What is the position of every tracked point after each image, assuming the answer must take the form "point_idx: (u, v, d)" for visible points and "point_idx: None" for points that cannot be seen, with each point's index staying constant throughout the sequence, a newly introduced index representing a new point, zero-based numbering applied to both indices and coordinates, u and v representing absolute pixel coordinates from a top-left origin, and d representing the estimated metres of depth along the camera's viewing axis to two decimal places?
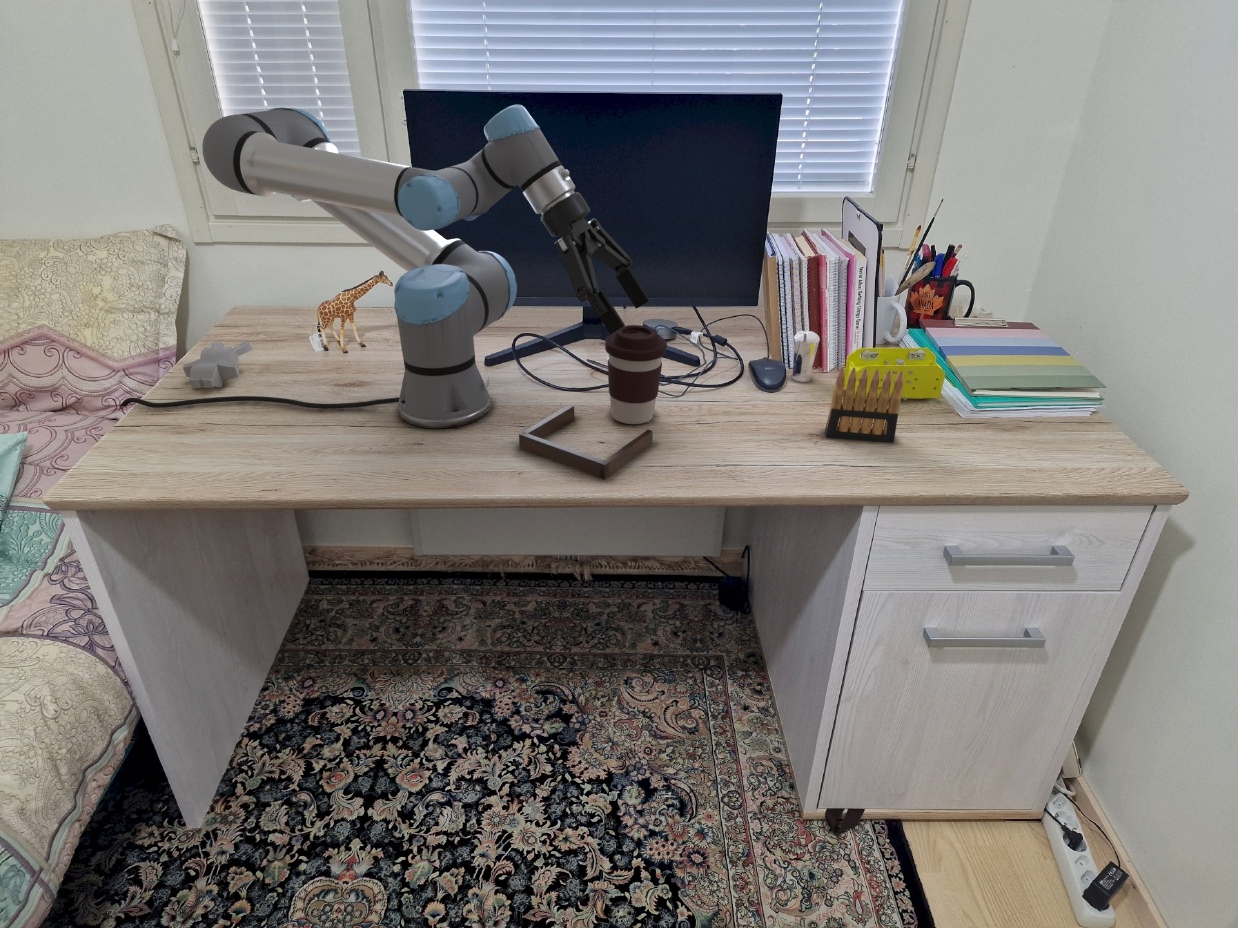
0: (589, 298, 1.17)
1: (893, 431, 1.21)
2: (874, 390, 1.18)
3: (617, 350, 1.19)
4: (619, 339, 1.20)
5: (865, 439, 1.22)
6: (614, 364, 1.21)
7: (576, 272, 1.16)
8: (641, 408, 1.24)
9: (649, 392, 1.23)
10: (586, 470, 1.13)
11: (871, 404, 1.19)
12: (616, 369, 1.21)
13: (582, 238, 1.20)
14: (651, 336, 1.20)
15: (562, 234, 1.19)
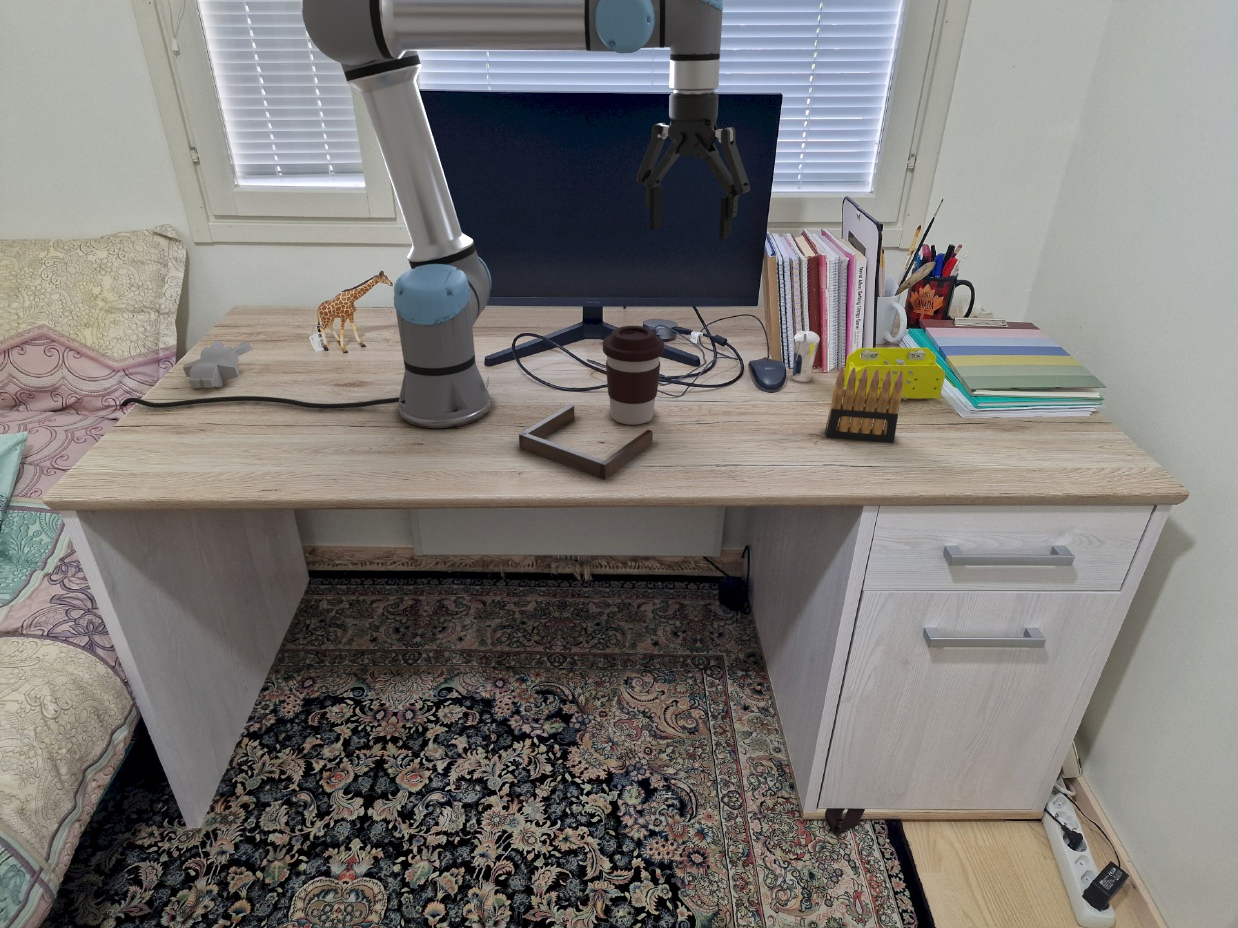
0: (735, 197, 1.20)
1: (893, 431, 1.21)
2: (874, 390, 1.18)
3: (614, 351, 1.19)
4: (616, 340, 1.20)
5: (865, 439, 1.22)
6: (612, 365, 1.22)
7: (741, 167, 1.18)
8: (640, 408, 1.24)
9: (648, 392, 1.23)
10: (586, 470, 1.13)
11: (871, 404, 1.19)
12: (614, 370, 1.21)
13: None
14: (648, 336, 1.20)
15: (712, 124, 1.17)
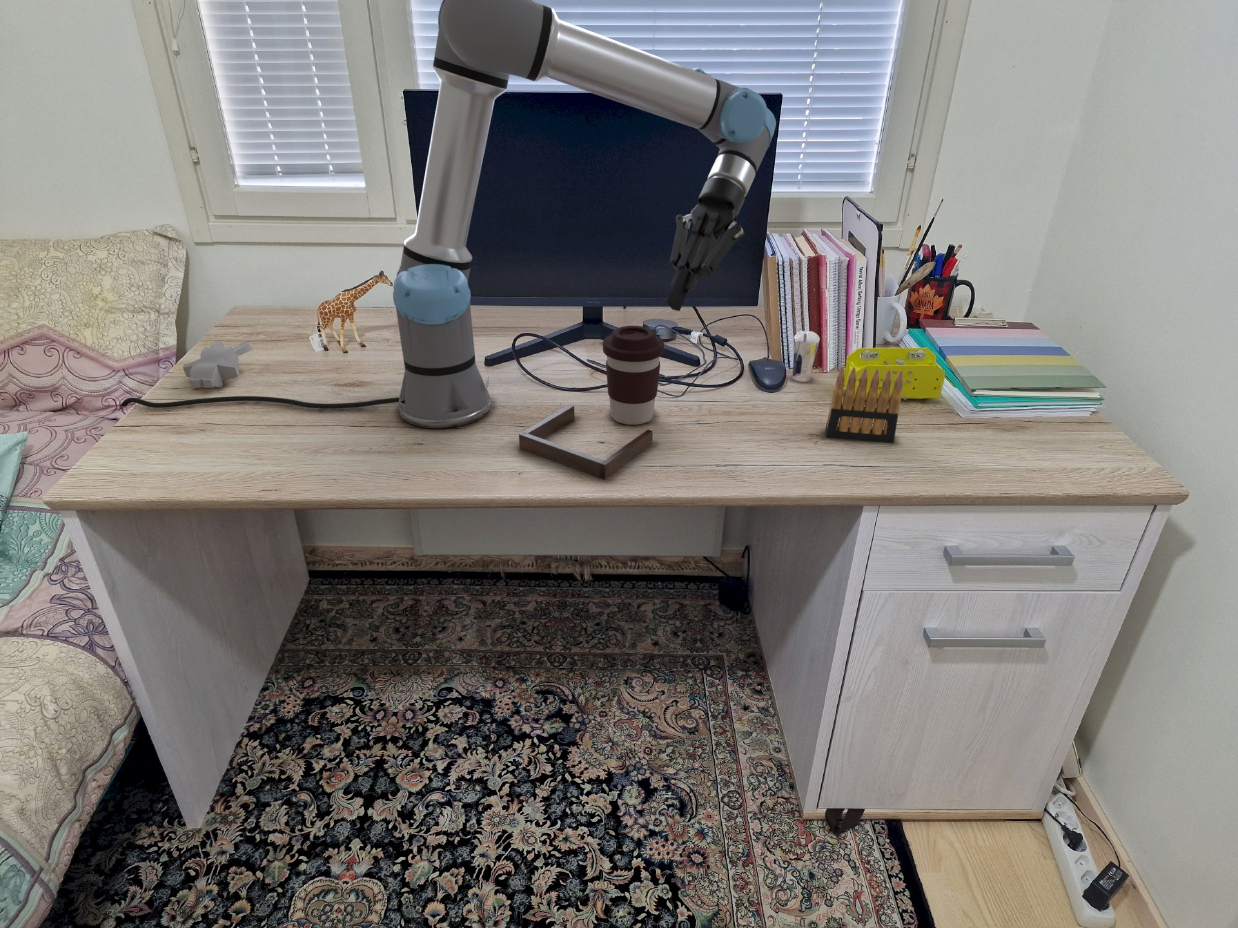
0: (697, 274, 1.29)
1: (893, 431, 1.21)
2: (874, 390, 1.18)
3: (614, 351, 1.19)
4: (616, 340, 1.20)
5: (865, 439, 1.22)
6: (612, 365, 1.22)
7: (720, 257, 1.30)
8: (640, 408, 1.24)
9: (648, 392, 1.23)
10: (586, 470, 1.13)
11: (871, 404, 1.19)
12: (614, 370, 1.21)
13: None
14: (648, 336, 1.20)
15: (734, 211, 1.30)
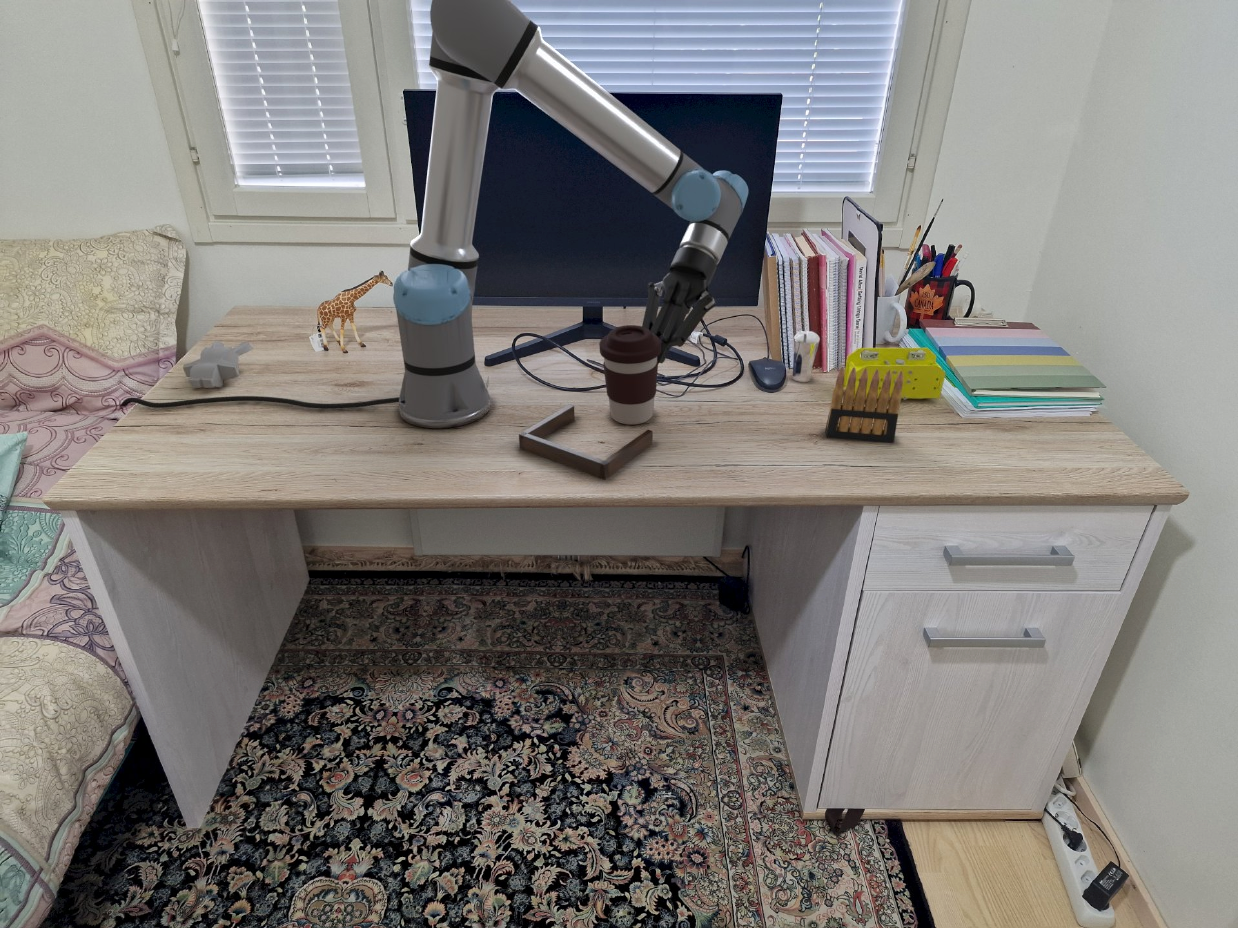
0: (668, 344, 1.28)
1: (893, 431, 1.21)
2: (874, 390, 1.18)
3: (611, 354, 1.19)
4: (612, 342, 1.19)
5: (865, 439, 1.22)
6: (610, 367, 1.21)
7: (692, 328, 1.29)
8: (640, 408, 1.24)
9: (646, 392, 1.23)
10: (586, 470, 1.13)
11: (871, 404, 1.19)
12: (612, 372, 1.21)
13: None
14: (644, 337, 1.19)
15: (706, 281, 1.29)
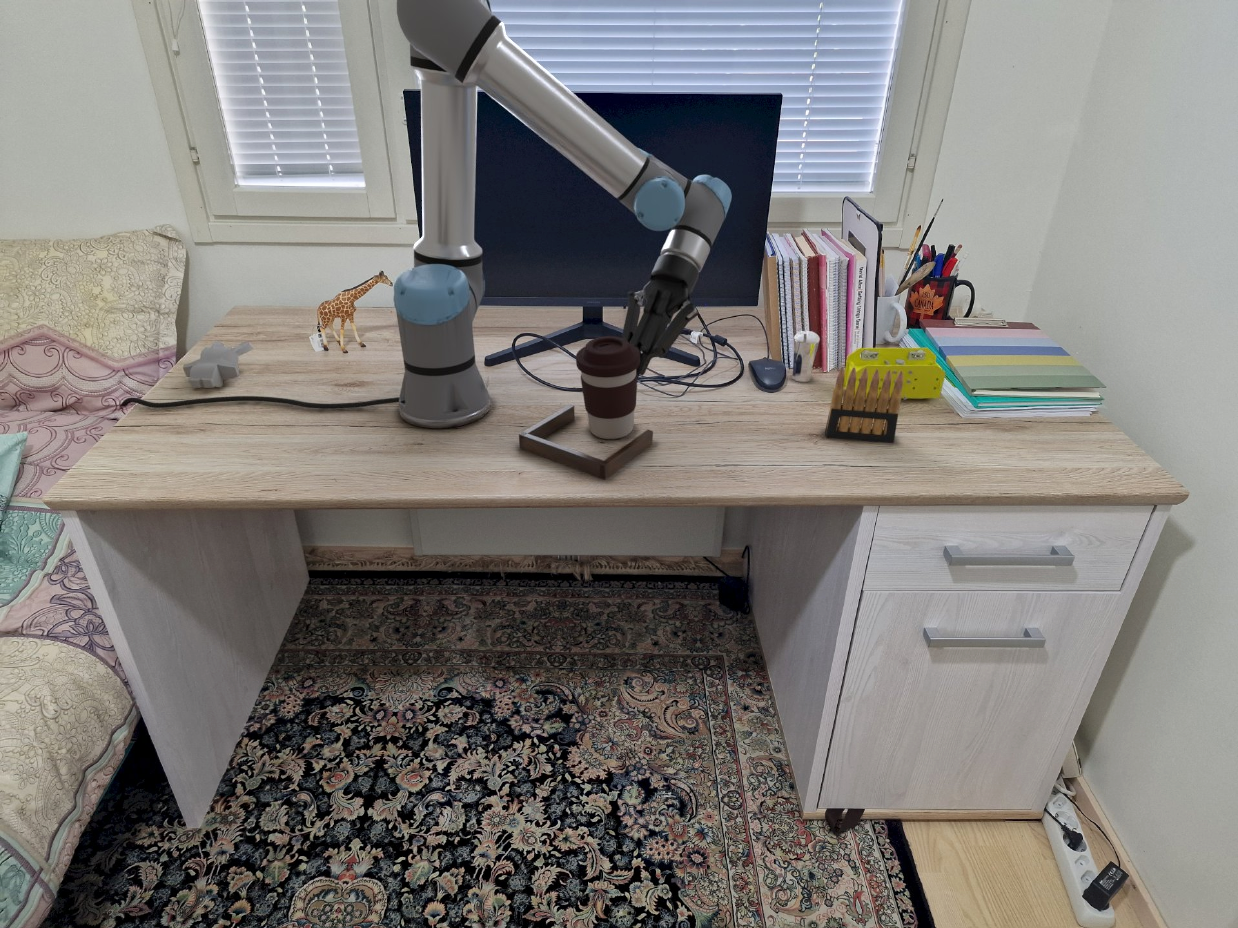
0: (649, 355, 1.24)
1: (893, 431, 1.21)
2: (874, 390, 1.18)
3: (588, 367, 1.14)
4: (589, 355, 1.15)
5: (865, 439, 1.22)
6: (587, 381, 1.16)
7: (673, 338, 1.24)
8: (619, 422, 1.20)
9: (626, 406, 1.18)
10: (586, 470, 1.13)
11: (871, 404, 1.19)
12: (589, 386, 1.16)
13: None
14: (623, 349, 1.15)
15: (687, 289, 1.25)
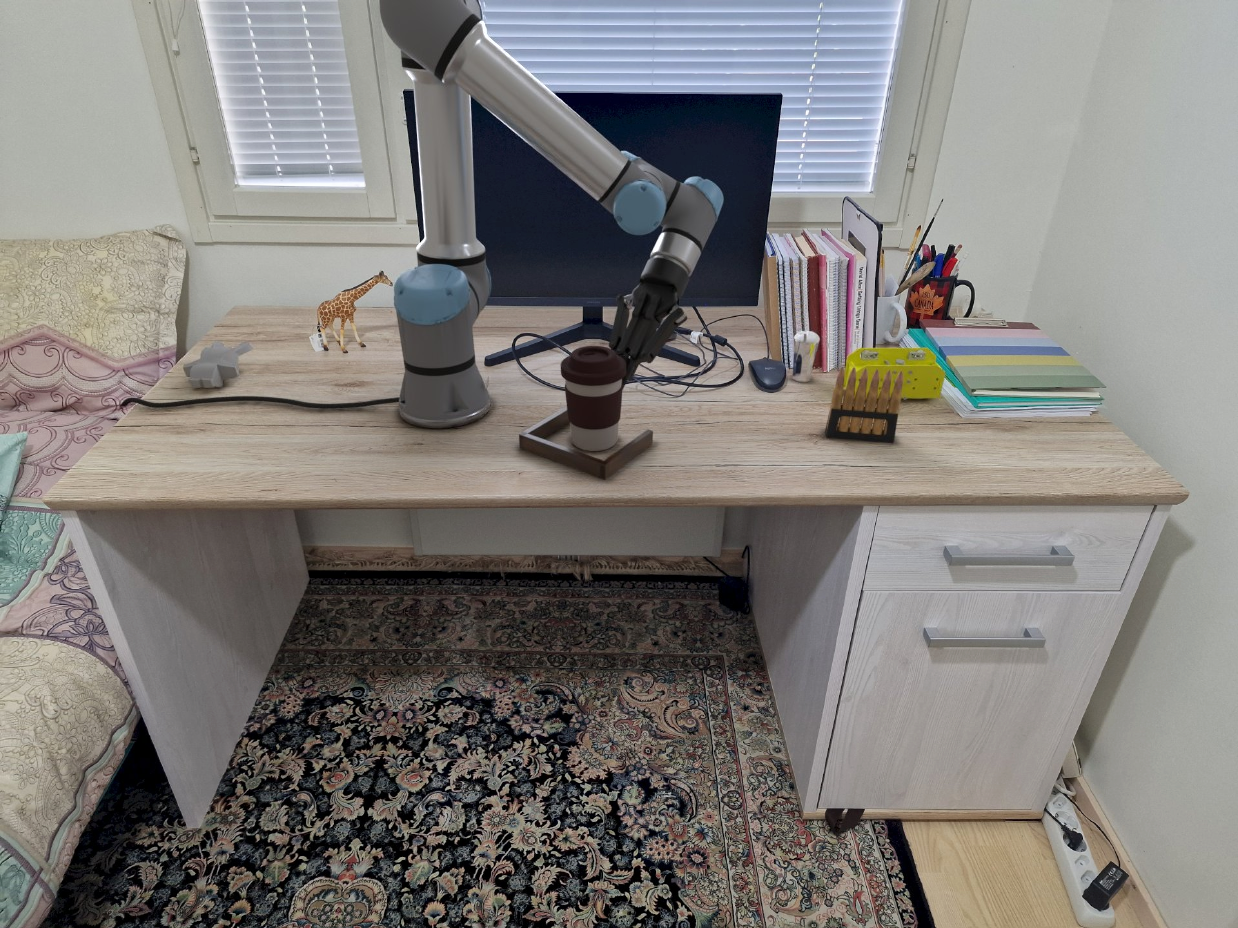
0: (637, 361, 1.21)
1: (893, 431, 1.21)
2: (874, 390, 1.18)
3: (573, 375, 1.11)
4: (574, 363, 1.12)
5: (865, 439, 1.22)
6: (571, 389, 1.14)
7: (662, 343, 1.21)
8: (603, 434, 1.17)
9: (610, 417, 1.15)
10: (586, 470, 1.13)
11: (871, 404, 1.19)
12: (573, 394, 1.14)
13: None
14: (609, 358, 1.12)
15: (677, 293, 1.22)
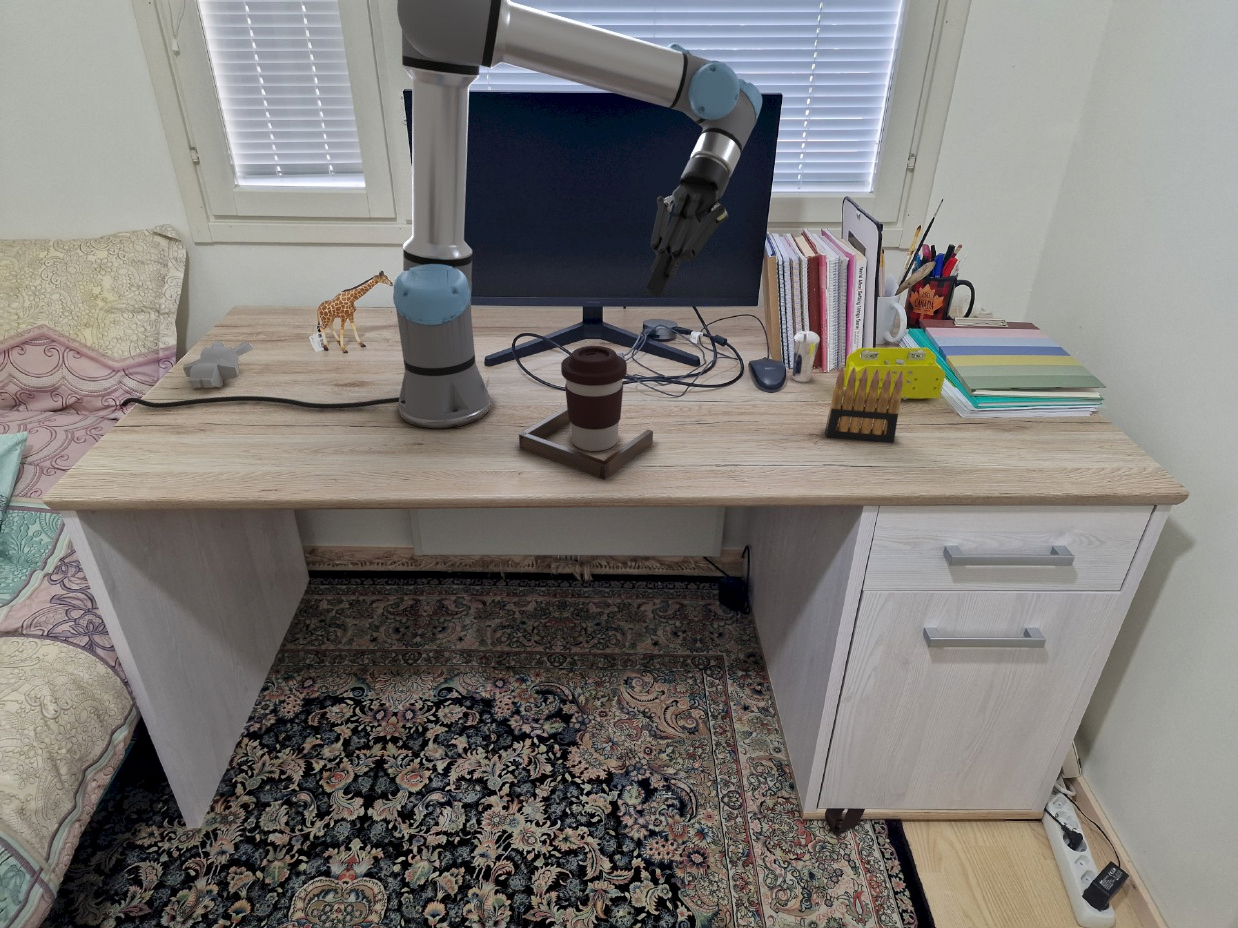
0: (679, 258, 1.23)
1: (893, 431, 1.21)
2: (874, 390, 1.18)
3: (574, 374, 1.11)
4: (575, 362, 1.12)
5: (865, 439, 1.22)
6: (572, 389, 1.14)
7: (703, 241, 1.23)
8: (603, 434, 1.17)
9: (611, 417, 1.16)
10: (586, 470, 1.13)
11: (871, 404, 1.19)
12: (574, 394, 1.14)
13: None
14: (609, 358, 1.12)
15: (718, 192, 1.24)
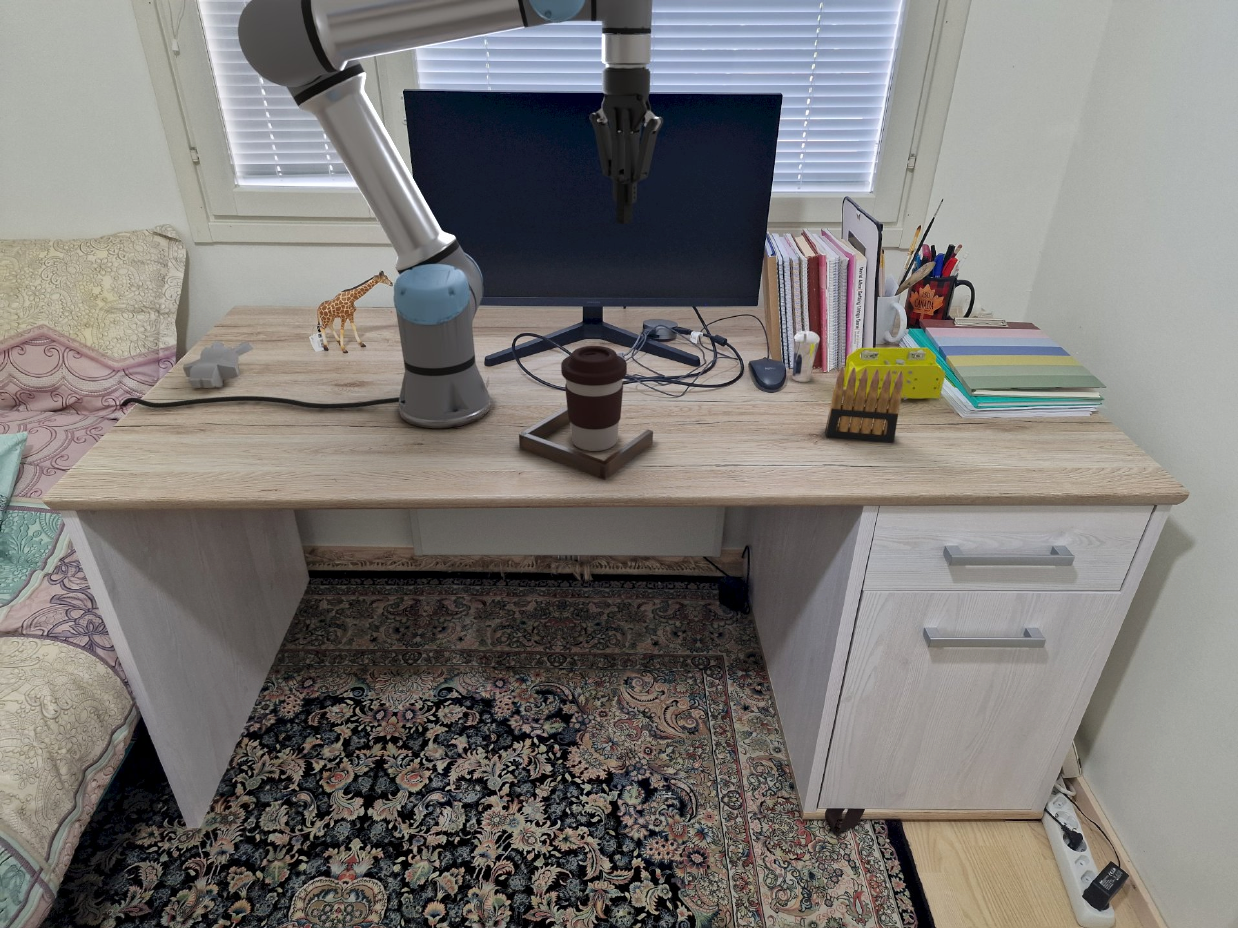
0: (633, 183, 1.25)
1: (893, 431, 1.21)
2: (874, 390, 1.18)
3: (574, 374, 1.11)
4: (575, 362, 1.12)
5: (865, 439, 1.22)
6: (572, 389, 1.14)
7: (649, 157, 1.22)
8: (603, 434, 1.17)
9: (611, 417, 1.16)
10: (586, 470, 1.13)
11: (871, 404, 1.19)
12: (574, 394, 1.14)
13: None
14: (609, 358, 1.12)
15: (643, 99, 1.18)
